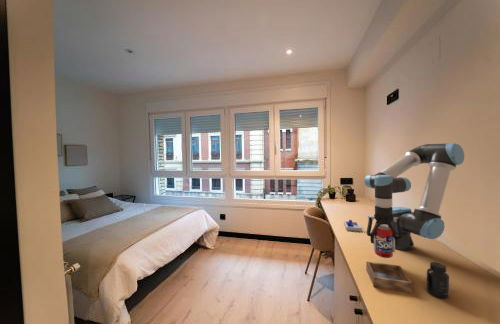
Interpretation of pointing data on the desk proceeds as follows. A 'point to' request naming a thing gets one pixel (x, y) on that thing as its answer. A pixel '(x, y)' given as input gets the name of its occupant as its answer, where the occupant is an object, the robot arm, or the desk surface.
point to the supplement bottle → (437, 281)
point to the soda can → (384, 241)
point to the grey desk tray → (355, 228)
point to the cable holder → (350, 223)
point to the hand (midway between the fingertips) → (383, 250)
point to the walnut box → (389, 277)
